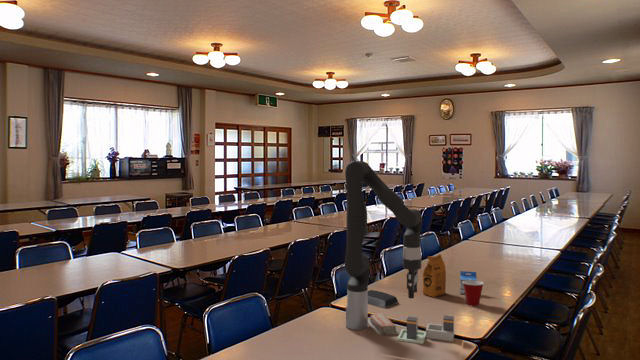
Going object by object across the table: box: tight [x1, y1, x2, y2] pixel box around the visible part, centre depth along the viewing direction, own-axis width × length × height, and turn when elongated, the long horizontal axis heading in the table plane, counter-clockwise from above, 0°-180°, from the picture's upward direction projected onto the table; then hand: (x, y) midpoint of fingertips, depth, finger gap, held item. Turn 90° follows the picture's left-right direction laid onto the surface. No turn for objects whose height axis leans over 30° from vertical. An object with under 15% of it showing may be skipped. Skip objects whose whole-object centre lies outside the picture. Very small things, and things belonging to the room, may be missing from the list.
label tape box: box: [459, 270, 478, 295], centre depth 248 cm, size 9×4×12 cm, turn 73°
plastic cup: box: [462, 280, 485, 307], centre depth 230 cm, size 11×11×12 cm
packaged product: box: [368, 312, 401, 336], centre depth 199 cm, size 18×5×10 cm
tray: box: [396, 328, 426, 345], centre depth 187 cm, size 11×11×2 cm
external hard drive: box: [368, 289, 399, 309], centre depth 236 cm, size 13×19×4 cm
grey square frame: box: [425, 314, 455, 342], centre depth 188 cm, size 11×8×9 cm
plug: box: [406, 316, 419, 340], centre depth 187 cm, size 4×4×8 cm
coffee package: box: [421, 253, 447, 298], centre depth 248 cm, size 10×12×22 cm
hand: (412, 295), depth 186 cm, fingers open, 8 cm apart
